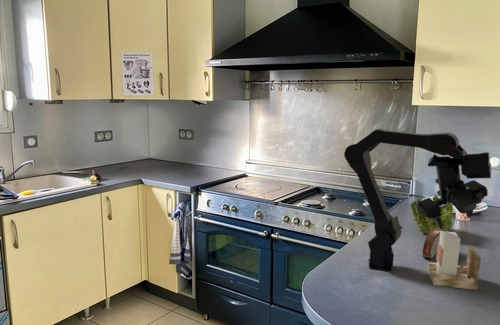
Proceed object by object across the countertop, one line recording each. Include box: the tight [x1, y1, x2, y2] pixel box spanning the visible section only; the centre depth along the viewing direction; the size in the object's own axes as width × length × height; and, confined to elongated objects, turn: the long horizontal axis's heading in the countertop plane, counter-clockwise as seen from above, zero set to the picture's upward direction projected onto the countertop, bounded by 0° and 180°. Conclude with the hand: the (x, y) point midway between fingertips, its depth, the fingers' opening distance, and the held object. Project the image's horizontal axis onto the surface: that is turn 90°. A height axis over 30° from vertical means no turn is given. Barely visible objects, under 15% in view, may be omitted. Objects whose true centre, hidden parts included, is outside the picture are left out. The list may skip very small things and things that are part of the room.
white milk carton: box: [435, 231, 462, 276], centre depth 119 cm, size 4×6×12 cm
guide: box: [426, 246, 482, 291], centre depth 119 cm, size 11×10×9 cm
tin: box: [422, 228, 444, 260], centre depth 137 cm, size 15×3×8 cm, turn 141°
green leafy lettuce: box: [409, 194, 454, 235], centre depth 158 cm, size 18×16×16 cm
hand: (454, 222), depth 121 cm, fingers open, 9 cm apart
